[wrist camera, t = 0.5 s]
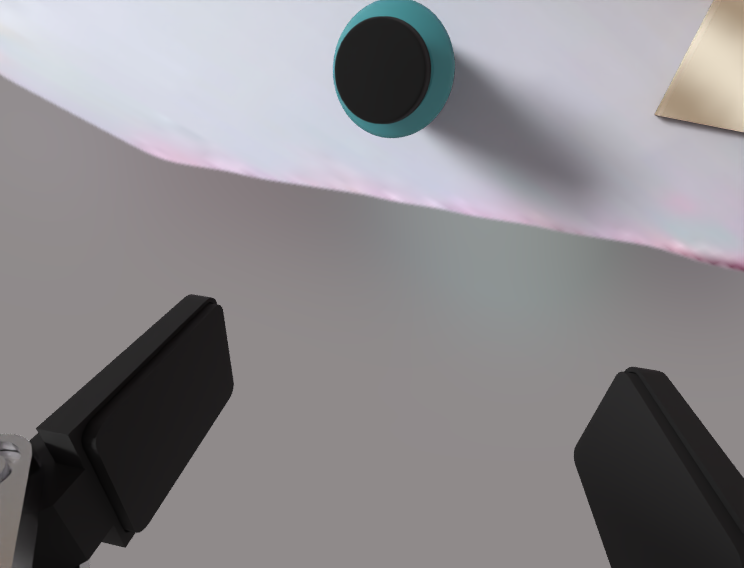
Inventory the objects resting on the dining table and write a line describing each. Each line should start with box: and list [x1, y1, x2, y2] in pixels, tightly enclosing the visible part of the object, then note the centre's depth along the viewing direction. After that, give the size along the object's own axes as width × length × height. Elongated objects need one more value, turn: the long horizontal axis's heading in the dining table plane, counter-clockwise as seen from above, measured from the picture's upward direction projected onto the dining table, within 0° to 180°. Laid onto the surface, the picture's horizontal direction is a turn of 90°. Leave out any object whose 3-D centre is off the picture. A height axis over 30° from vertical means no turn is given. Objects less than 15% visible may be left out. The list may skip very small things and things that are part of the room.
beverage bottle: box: [333, 0, 455, 138], centre depth 23 cm, size 6×7×20 cm
